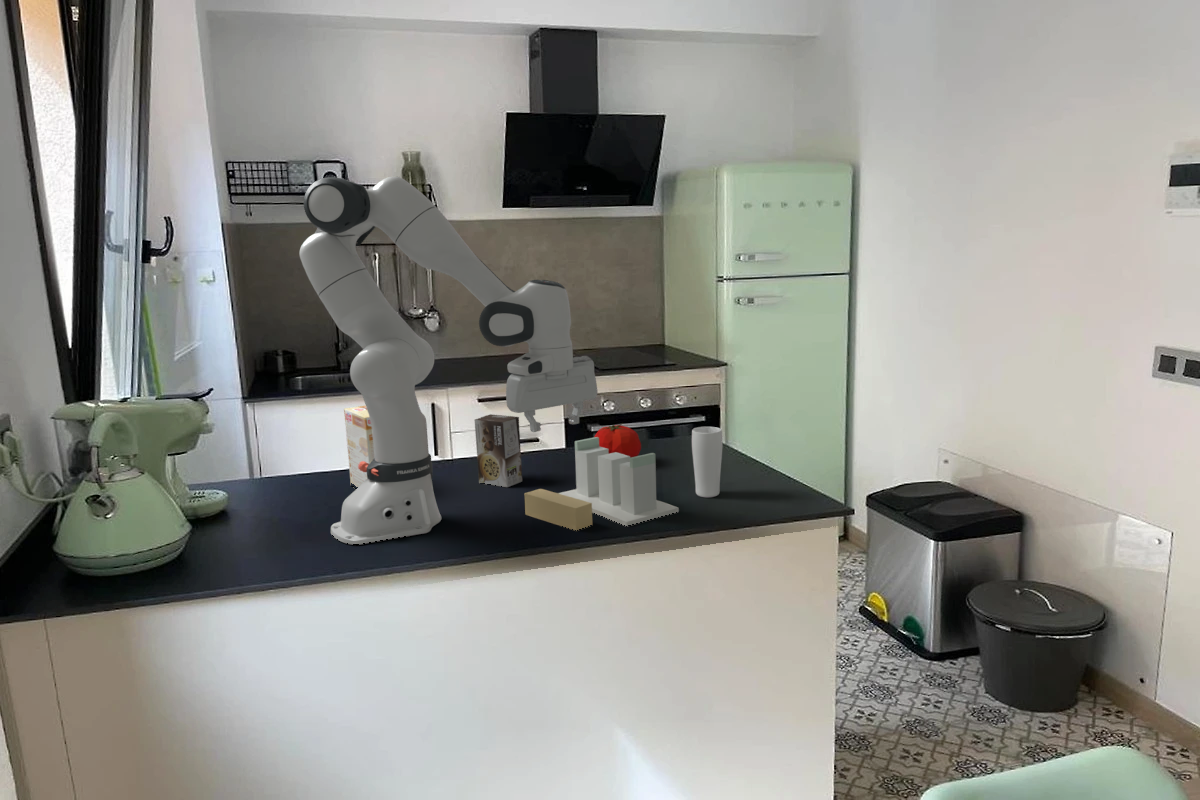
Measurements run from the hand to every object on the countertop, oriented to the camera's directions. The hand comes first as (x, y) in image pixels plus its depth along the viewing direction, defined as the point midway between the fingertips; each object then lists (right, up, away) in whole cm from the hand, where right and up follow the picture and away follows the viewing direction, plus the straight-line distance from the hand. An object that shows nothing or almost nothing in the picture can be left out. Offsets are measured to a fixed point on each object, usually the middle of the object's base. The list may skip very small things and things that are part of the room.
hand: (555, 427), depth 177 cm
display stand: (+13, -17, +12) cm, 25 cm away
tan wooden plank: (0, -20, +4) cm, 20 cm away
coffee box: (-15, -15, +33) cm, 39 cm away
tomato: (+13, -11, +45) cm, 48 cm away
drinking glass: (+33, -16, +18) cm, 41 cm away
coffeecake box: (-45, -16, +30) cm, 56 cm away
